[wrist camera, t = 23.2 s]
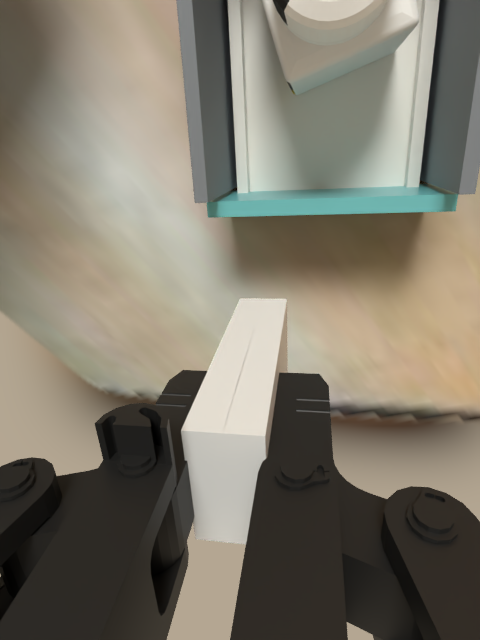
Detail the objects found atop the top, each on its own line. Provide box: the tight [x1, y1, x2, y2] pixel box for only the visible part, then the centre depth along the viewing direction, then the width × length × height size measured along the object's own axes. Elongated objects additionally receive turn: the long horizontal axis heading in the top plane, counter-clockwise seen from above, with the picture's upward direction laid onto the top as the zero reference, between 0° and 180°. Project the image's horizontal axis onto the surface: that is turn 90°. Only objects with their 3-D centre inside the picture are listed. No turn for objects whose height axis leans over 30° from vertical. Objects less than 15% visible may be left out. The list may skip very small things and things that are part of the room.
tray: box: [207, 0, 458, 217], centre depth 26 cm, size 15×20×7 cm
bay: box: [177, 0, 480, 203], centre depth 24 cm, size 15×20×10 cm
